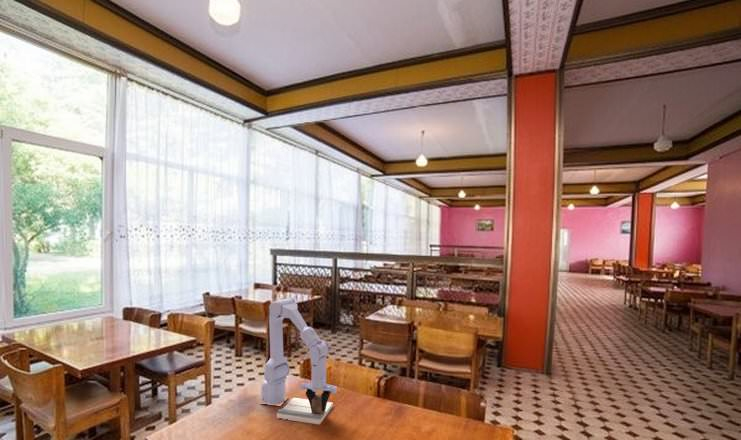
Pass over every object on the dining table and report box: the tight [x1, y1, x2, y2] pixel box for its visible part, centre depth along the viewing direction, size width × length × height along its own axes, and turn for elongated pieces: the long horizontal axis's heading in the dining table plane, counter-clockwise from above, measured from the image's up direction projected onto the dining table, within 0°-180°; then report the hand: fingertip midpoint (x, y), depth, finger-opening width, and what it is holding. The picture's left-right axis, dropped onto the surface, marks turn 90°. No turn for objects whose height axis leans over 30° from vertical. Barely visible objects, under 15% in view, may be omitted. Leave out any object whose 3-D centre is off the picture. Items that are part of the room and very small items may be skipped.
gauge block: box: [312, 394, 325, 415], centre depth 131 cm, size 4×4×6 cm
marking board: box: [276, 397, 334, 425], centre depth 134 cm, size 18×14×2 cm
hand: (318, 409), depth 131 cm, fingers closed on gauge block, 4 cm apart
